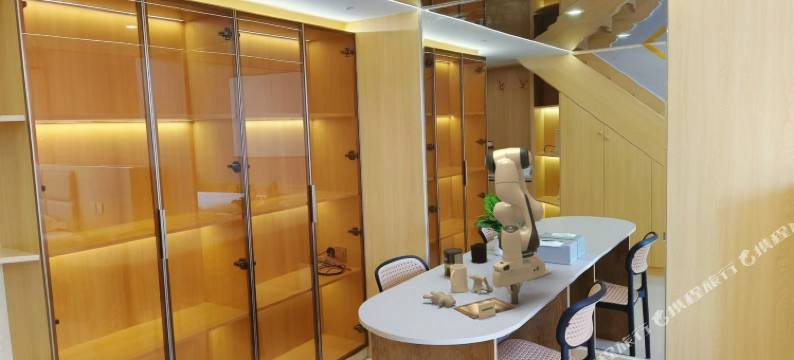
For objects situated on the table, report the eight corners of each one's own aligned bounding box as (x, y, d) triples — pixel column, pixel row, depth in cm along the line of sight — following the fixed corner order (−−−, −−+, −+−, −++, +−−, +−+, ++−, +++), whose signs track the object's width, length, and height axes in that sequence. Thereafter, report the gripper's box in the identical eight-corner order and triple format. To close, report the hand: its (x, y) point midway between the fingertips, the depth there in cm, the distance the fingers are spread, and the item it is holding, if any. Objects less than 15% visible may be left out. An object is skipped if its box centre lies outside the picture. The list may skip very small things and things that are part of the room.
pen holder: (489, 263, 310) (488, 246, 309) (472, 264, 310) (471, 247, 309) (486, 259, 319) (485, 242, 318) (470, 260, 319) (469, 243, 318)
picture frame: (494, 298, 250) (494, 295, 250) (516, 307, 236) (516, 304, 236) (453, 308, 241) (453, 305, 241) (474, 319, 226) (473, 316, 226)
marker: (515, 300, 244) (514, 275, 243) (520, 302, 241) (518, 276, 240) (509, 301, 243) (507, 276, 241) (514, 304, 240) (512, 278, 238)
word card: (494, 314, 230) (493, 300, 229) (495, 314, 229) (494, 301, 229) (478, 318, 227) (478, 304, 226) (479, 319, 226) (478, 305, 225)
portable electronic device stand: (493, 291, 261) (492, 274, 260) (482, 295, 256) (481, 278, 255) (478, 287, 267) (477, 271, 266) (468, 292, 262) (467, 275, 261)
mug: (457, 295, 258) (455, 271, 257) (443, 292, 264) (441, 268, 262) (472, 288, 266) (470, 264, 265) (458, 286, 272) (456, 262, 271)
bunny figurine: (446, 301, 239) (420, 292, 249) (446, 312, 240) (420, 302, 250) (459, 295, 246) (434, 286, 256) (459, 306, 247) (433, 296, 257)
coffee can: (446, 279, 285) (444, 253, 283) (443, 274, 295) (442, 248, 293) (465, 277, 285) (464, 251, 283) (462, 272, 295) (460, 247, 294)
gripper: (526, 257, 247) (528, 286, 249) (489, 265, 238) (491, 296, 240) (535, 259, 241) (537, 290, 243) (498, 268, 233) (500, 299, 234)
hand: (514, 293), depth 241 cm, fingers closed on marker, 3 cm apart
